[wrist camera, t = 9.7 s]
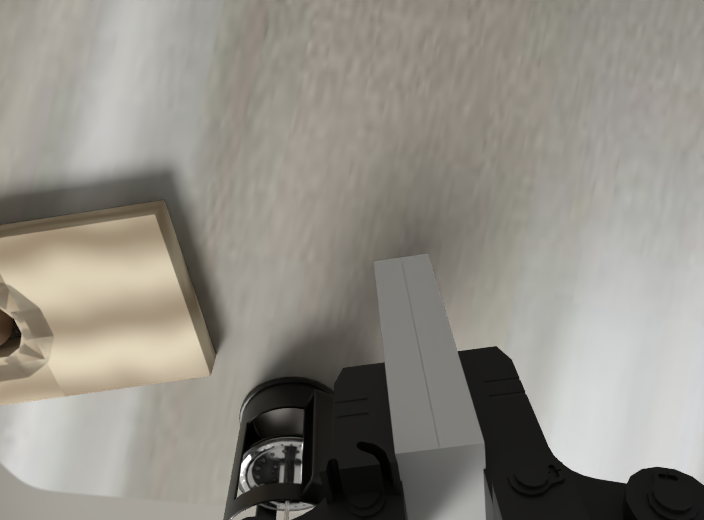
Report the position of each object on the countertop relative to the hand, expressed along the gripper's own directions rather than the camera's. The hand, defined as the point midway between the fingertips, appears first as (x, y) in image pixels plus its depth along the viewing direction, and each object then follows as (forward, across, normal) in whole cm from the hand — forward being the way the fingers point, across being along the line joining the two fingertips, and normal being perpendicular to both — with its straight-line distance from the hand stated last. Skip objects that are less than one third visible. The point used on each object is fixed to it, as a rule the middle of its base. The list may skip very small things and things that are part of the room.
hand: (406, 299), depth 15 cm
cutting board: (+23, -25, -12) cm, 36 cm away
